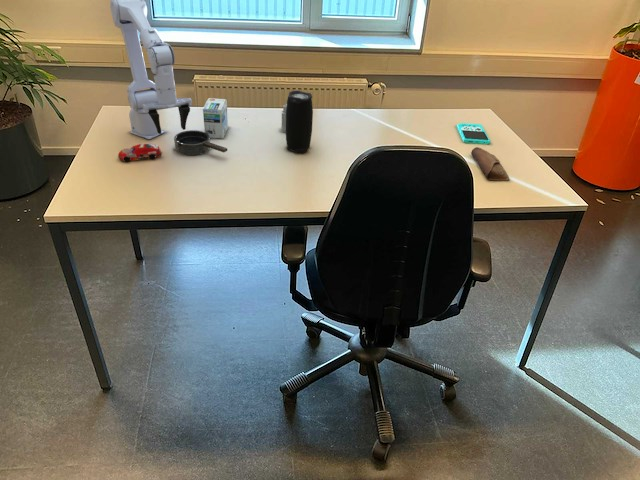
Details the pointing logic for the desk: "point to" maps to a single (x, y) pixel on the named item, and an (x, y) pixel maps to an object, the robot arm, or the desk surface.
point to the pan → (191, 142)
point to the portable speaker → (299, 121)
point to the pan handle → (215, 147)
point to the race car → (140, 152)
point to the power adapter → (284, 118)
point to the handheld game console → (473, 133)
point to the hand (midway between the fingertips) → (171, 130)
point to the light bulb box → (215, 117)
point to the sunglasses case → (489, 165)
